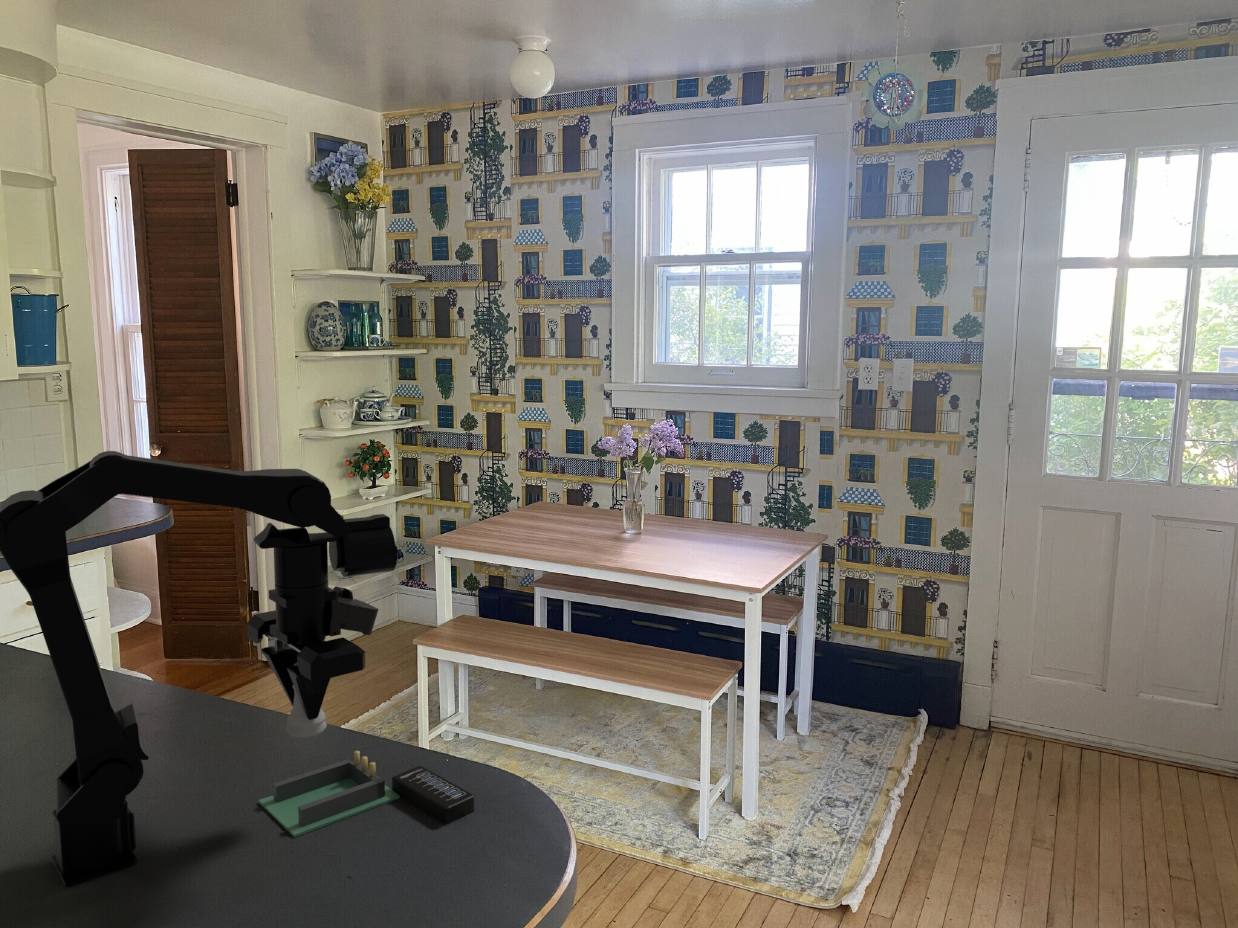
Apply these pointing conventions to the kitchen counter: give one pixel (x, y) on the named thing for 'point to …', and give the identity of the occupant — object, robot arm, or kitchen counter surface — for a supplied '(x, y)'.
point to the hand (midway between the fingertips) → (305, 713)
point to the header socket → (327, 795)
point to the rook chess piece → (304, 721)
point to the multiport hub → (433, 794)
